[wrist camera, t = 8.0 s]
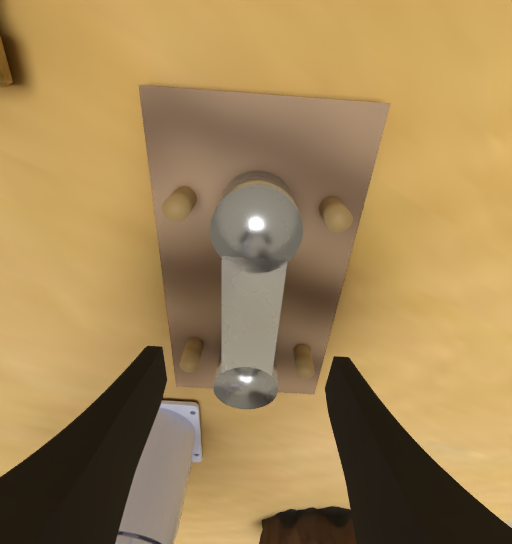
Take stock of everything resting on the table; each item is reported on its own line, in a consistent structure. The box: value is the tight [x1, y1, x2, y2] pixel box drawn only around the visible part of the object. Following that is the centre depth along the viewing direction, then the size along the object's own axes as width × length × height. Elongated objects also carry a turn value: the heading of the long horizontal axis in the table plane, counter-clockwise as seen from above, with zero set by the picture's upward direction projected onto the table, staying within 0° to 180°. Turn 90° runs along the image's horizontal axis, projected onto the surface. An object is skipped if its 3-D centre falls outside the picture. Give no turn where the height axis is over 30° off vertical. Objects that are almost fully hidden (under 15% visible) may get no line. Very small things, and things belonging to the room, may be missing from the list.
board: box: [139, 85, 390, 394], centre depth 17 cm, size 20×11×3 cm, turn 176°
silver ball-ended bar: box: [210, 171, 303, 409], centre depth 16 cm, size 14×4×3 cm, turn 176°
